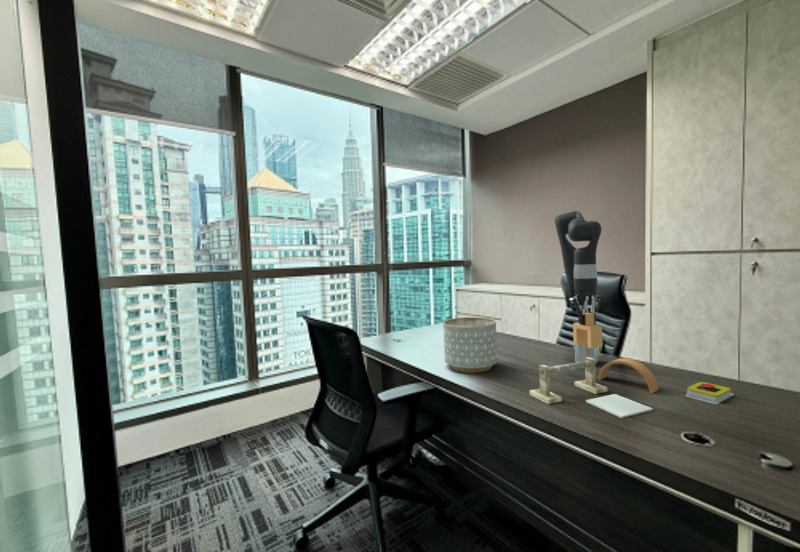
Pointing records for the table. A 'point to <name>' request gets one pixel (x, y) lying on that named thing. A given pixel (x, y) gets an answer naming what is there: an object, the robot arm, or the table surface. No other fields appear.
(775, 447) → the table surface
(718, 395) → the emergency button
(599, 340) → the wooden bridge block
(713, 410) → the table surface
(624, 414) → the mat
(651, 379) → the arch
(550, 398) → the rail stand
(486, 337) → the planter
